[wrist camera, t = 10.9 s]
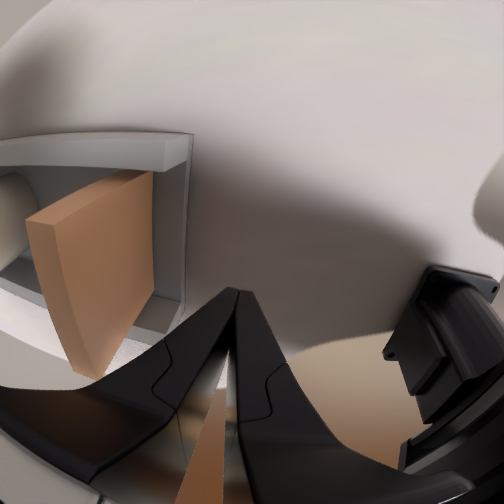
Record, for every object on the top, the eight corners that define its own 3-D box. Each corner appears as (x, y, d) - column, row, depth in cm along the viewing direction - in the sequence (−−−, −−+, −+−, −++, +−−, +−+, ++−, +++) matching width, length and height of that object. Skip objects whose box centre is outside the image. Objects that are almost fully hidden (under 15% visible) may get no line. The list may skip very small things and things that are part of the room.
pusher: (153, 169, 10) (53, 225, 5) (154, 289, 13) (99, 381, 8) (128, 167, 11) (24, 219, 5) (133, 284, 13) (74, 371, 8)
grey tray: (193, 134, 10) (142, 147, 6) (184, 309, 15) (156, 374, 11) (-19, 143, 11) (-66, 162, 7) (-3, 254, 15) (-39, 284, 11)
